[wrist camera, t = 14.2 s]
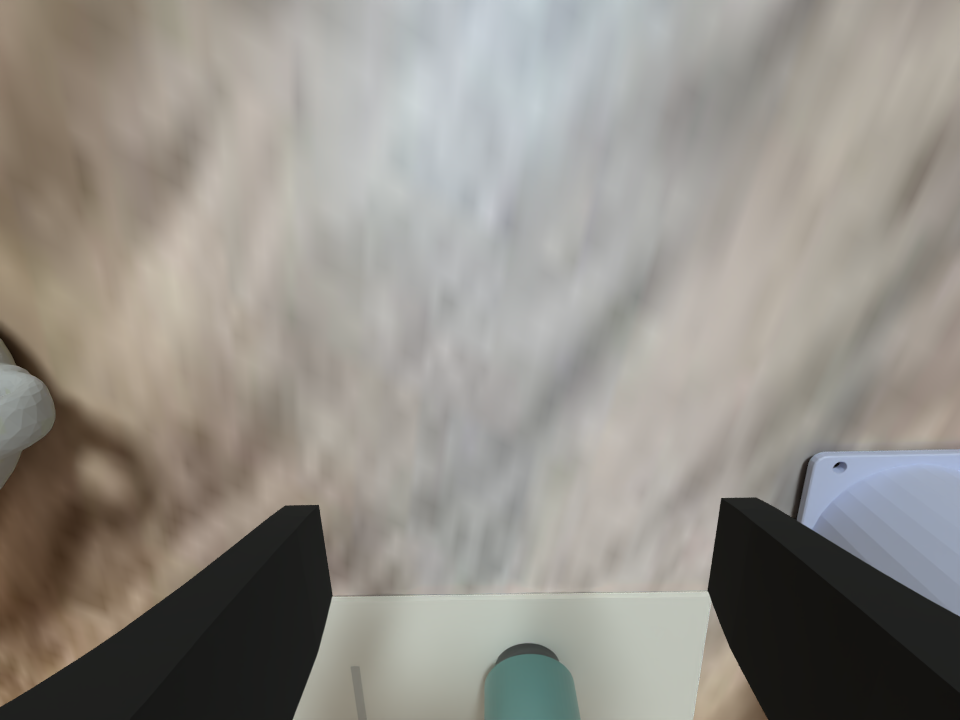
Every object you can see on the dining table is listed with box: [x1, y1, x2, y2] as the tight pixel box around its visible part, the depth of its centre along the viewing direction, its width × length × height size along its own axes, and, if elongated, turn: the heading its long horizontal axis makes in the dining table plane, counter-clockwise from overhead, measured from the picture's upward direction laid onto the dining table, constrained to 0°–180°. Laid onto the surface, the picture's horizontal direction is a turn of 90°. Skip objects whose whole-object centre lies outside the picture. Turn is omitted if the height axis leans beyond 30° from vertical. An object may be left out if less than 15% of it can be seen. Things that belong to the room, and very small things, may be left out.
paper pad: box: [293, 591, 711, 720], centre depth 25 cm, size 20×14×1 cm
